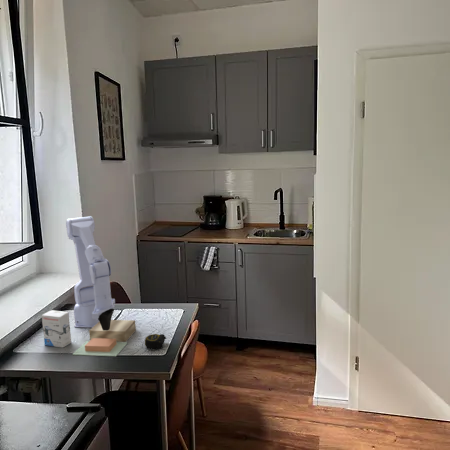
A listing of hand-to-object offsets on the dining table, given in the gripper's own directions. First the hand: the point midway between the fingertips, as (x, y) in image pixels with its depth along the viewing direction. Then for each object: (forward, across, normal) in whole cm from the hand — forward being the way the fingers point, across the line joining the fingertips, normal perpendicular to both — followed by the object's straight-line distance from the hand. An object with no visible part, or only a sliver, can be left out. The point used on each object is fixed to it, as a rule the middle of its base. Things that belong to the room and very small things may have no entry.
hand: (106, 329), depth 152 cm
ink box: (+5, -3, +18) cm, 19 cm away
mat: (+5, -6, 0) cm, 7 cm away
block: (+2, -5, 0) cm, 6 cm away
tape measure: (+5, -2, -20) cm, 21 cm away
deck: (+5, +5, 0) cm, 7 cm away
